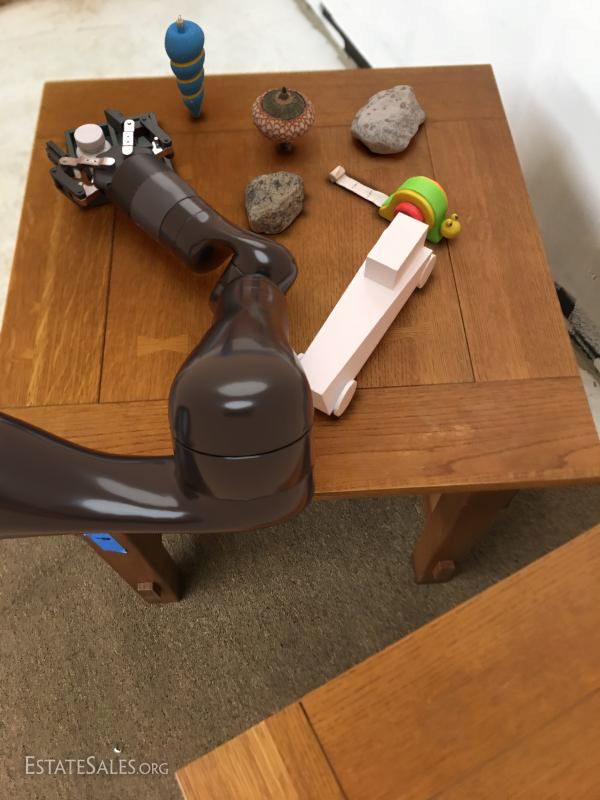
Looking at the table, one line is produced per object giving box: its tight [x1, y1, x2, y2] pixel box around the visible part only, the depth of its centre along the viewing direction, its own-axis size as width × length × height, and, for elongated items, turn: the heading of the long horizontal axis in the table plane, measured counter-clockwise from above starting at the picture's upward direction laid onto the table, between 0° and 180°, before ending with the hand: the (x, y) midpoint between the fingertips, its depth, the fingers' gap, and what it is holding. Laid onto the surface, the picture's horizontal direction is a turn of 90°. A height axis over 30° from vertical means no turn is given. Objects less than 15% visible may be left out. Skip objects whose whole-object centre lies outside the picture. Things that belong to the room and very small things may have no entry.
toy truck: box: [297, 212, 437, 417], centre depth 72 cm, size 25×7×9 cm, turn 148°
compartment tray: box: [63, 111, 174, 207], centre depth 87 cm, size 12×12×2 cm
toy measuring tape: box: [328, 165, 462, 245], centre depth 82 cm, size 6×20×7 cm, turn 51°
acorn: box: [251, 86, 316, 152], centre depth 85 cm, size 8×8×10 cm
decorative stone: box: [350, 84, 427, 155], centre depth 90 cm, size 12×11×5 cm
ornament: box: [164, 14, 206, 119], centre depth 86 cm, size 5×5×15 cm
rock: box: [244, 170, 305, 235], centre depth 82 cm, size 7×8×4 cm
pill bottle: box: [74, 123, 111, 186], centre depth 82 cm, size 4×4×8 cm
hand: (79, 130), depth 80 cm, fingers open, 8 cm apart
